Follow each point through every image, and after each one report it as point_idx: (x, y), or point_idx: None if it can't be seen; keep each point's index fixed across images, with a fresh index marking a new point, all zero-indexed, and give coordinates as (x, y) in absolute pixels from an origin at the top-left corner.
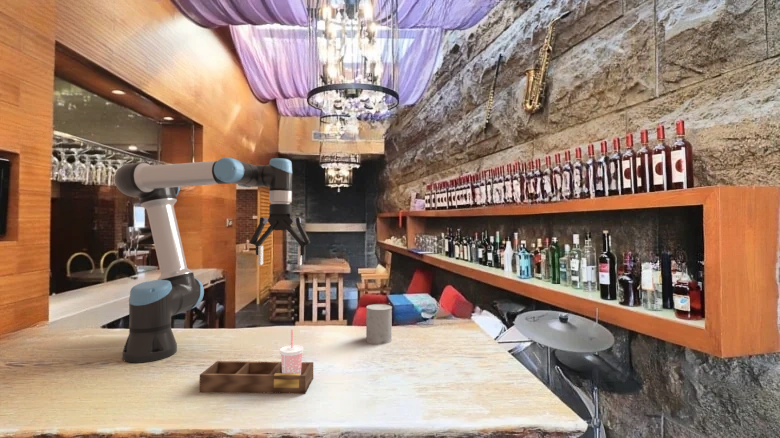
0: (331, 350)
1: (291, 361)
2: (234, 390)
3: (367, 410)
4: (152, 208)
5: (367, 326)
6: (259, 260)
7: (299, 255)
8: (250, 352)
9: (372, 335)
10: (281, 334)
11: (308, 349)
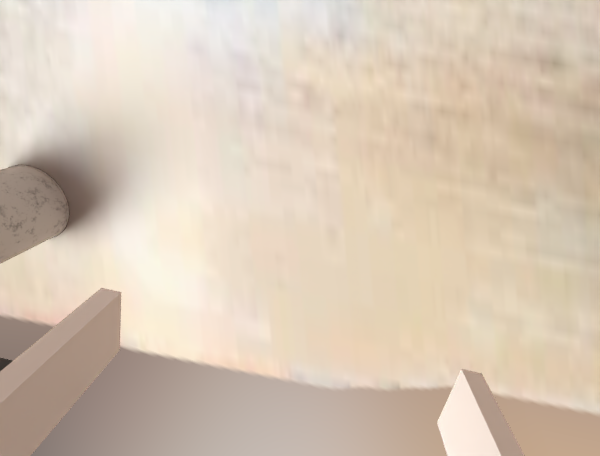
0: (160, 132)
1: None
2: None
3: None
4: None
5: (27, 206)
6: (487, 406)
7: (35, 349)
8: (403, 158)
9: (28, 180)
10: (322, 308)
11: (230, 154)
